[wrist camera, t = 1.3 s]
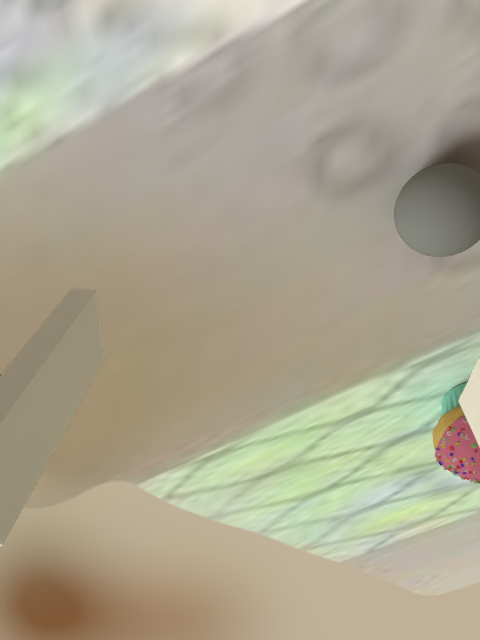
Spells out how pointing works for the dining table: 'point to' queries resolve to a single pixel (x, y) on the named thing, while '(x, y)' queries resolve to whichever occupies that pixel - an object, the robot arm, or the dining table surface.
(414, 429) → the dining table surface
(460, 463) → the cupcake
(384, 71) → the dining table surface
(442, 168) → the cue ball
